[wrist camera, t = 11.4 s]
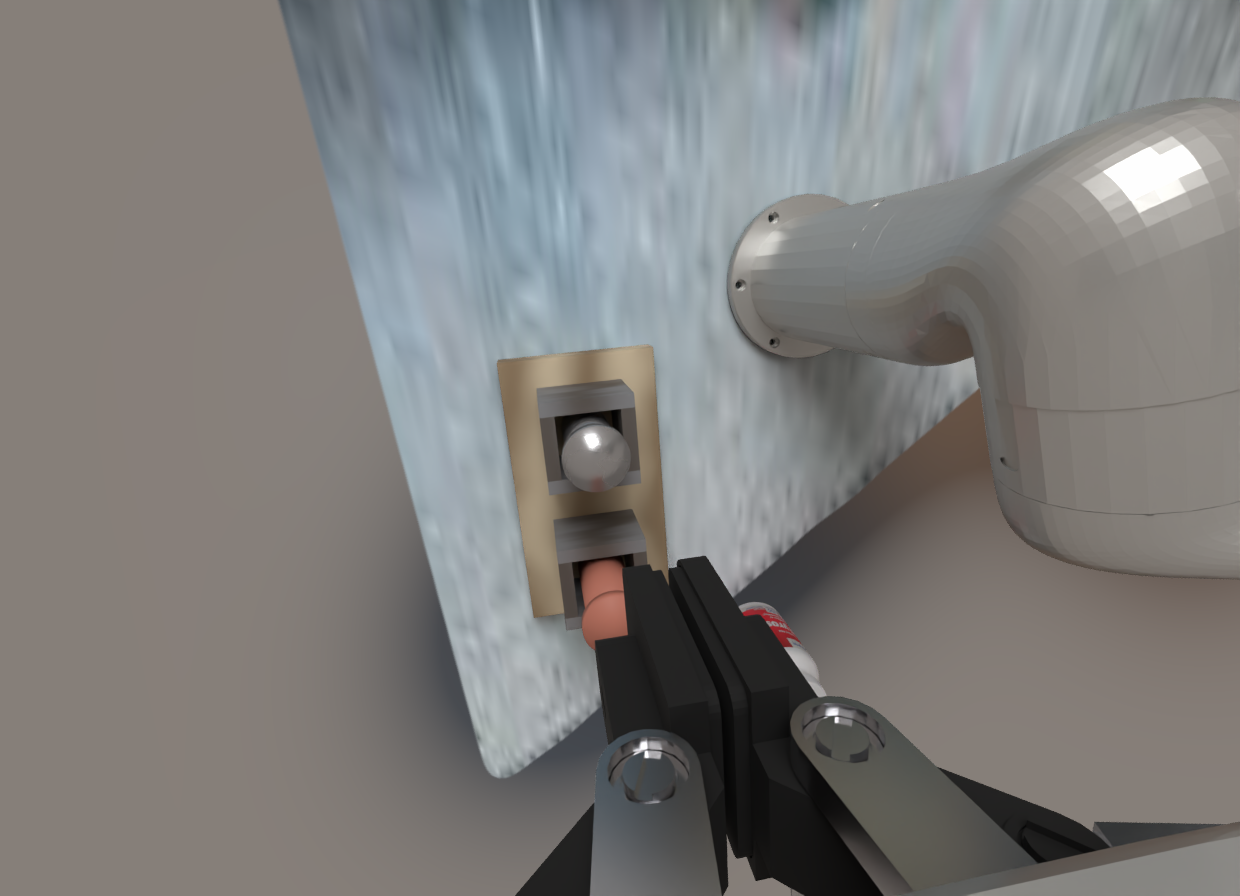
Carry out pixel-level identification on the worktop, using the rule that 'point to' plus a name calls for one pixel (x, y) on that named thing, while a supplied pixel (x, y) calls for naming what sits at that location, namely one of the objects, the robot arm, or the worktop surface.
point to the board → (547, 501)
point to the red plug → (602, 598)
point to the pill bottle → (787, 642)
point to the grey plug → (593, 452)
